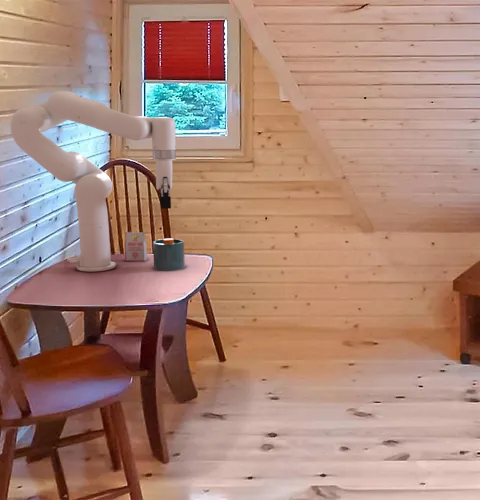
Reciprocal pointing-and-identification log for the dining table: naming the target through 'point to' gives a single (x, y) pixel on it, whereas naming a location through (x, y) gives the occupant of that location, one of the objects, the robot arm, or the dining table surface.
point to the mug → (168, 255)
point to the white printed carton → (135, 246)
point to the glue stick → (168, 241)
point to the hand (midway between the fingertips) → (165, 206)
